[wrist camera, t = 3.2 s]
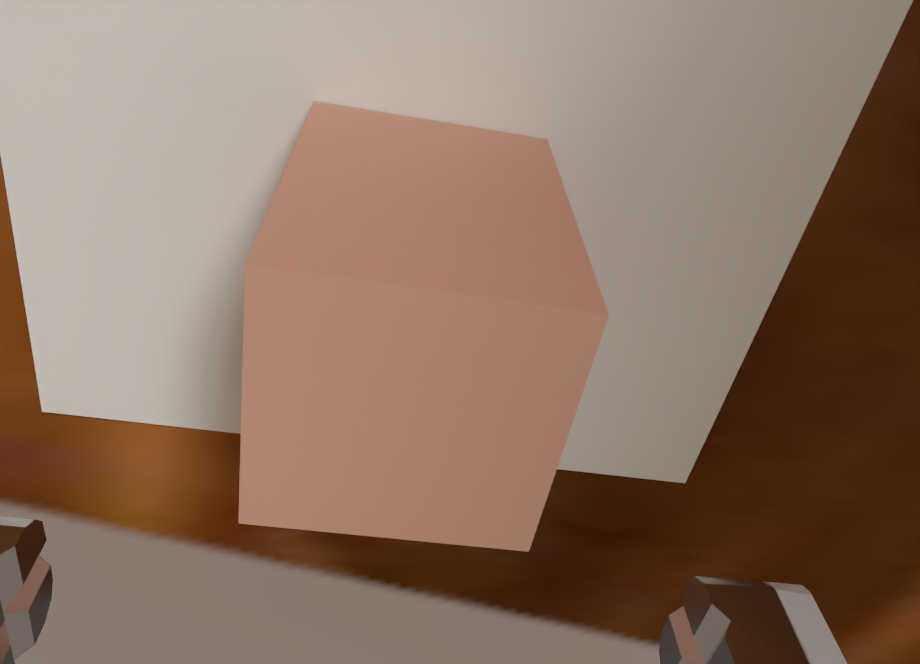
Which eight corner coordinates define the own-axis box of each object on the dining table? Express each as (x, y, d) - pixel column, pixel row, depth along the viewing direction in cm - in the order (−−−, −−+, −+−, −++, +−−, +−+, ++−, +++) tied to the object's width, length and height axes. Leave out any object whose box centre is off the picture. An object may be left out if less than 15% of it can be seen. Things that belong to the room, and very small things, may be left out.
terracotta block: (547, 139, 17) (609, 314, 11) (500, 329, 19) (528, 551, 13) (313, 100, 16) (244, 264, 10) (298, 302, 19) (238, 523, 13)
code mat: (922, -31, 15) (928, -30, 15) (684, 479, 23) (685, 484, 22) (-57, -232, 13) (-64, -233, 13) (44, 408, 20) (41, 412, 20)
